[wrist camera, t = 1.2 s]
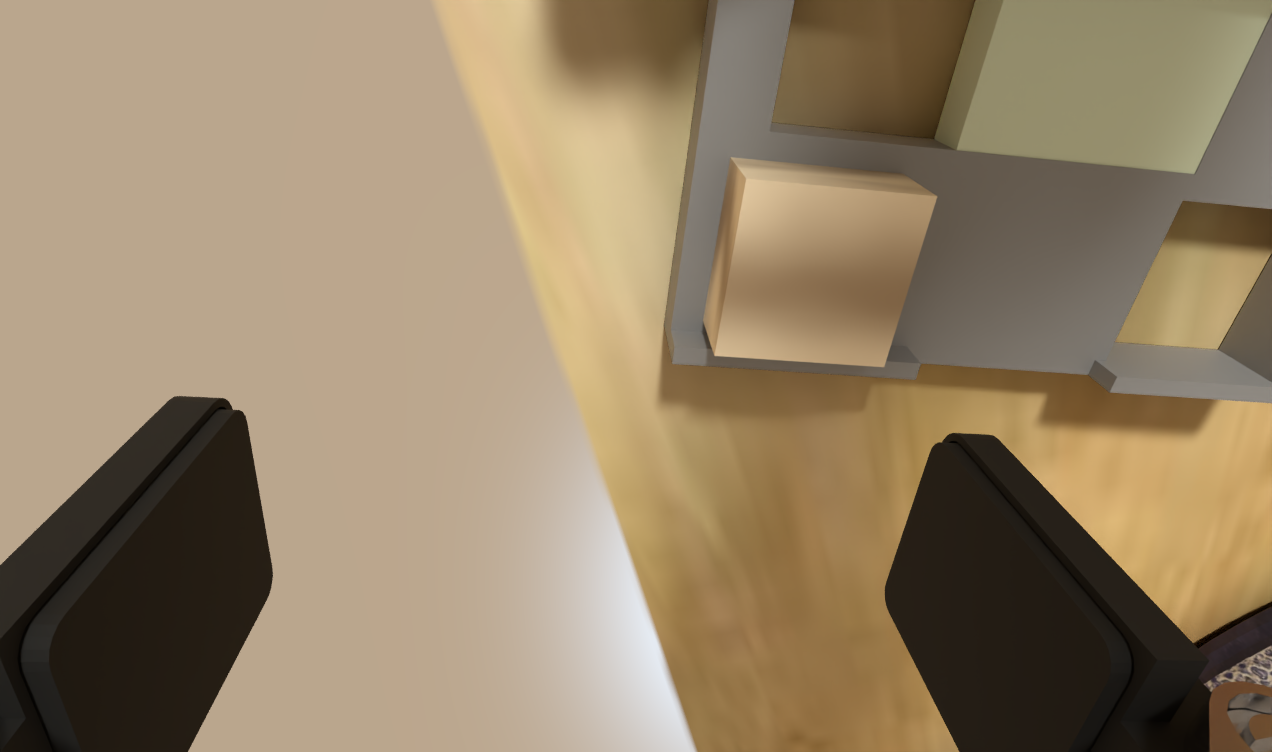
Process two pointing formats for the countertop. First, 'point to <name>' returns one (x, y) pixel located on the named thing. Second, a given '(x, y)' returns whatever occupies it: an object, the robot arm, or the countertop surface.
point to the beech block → (813, 262)
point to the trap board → (1022, 184)
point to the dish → (1241, 653)
